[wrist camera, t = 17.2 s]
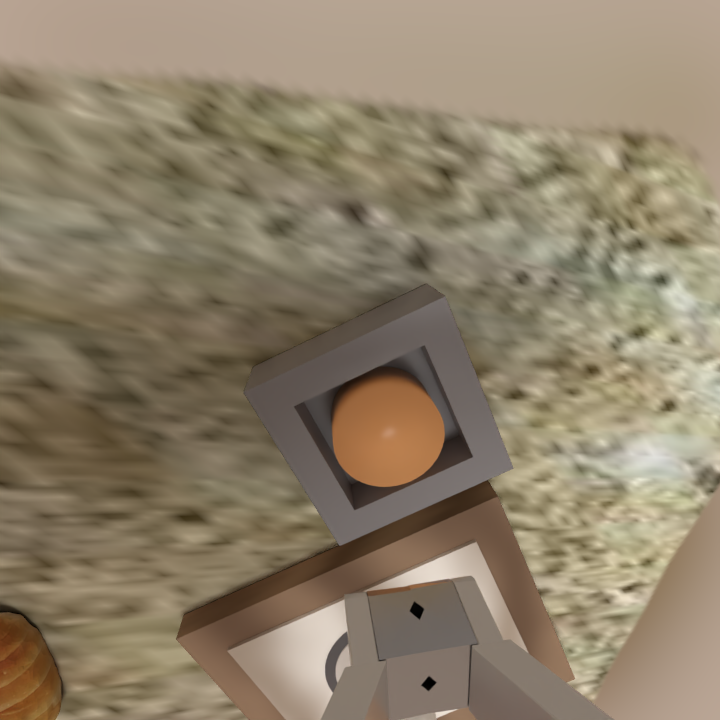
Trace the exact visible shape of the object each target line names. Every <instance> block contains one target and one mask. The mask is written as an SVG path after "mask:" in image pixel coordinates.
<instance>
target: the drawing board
mask: <svg viewBox="0 0 720 720" xmlns="http://www.w3.org/2000/svg"><path fill="white" fill-rule="evenodd" d="M464 576H472V577H473V578H475V580H476V582H477V584H478V587H479V589H480V591H481V593H482V595H483V597H484V599H485V601H486V604H487V606H488V608H489V610H490V612H491V614H492V616H493V618H494V620H495V623H496V625H497V627H498V629H499V631H500V633H501V635H502V637H503V640H509V639H511V640H512V641H513V642H515V643H516V644H517V645H518V646H520V647H521V648H522V649H524V650H525V651H526V652H527V653H529V654H530V655H531V656H533V657H534V658H535V659H536V660H538V661H539V662H540V663H542V664H543V665H544V666H545V667H547V668H548V669H549V670H551V671H552V672H553V673H554V674H556V675H557V676H558V677H560V678H561V679H562V680H564V681H565V682H569V681H571V680H574V679H575V677H574V675H573V673H572V670H571V668H570V666H569V663H568V661H567V658H566V656H565V654H564V651H563V649H562V647H561V644H560V642H559V640H558V637H557V635H556V633H555V630H554V628H553V625H552V623H551V621H550V618H549V616H548V614H547V611H546V609H545V607H544V604H543V602H542V600H541V597H540V595H539V592H538V590H537V588H536V585H535V583H534V581H533V578H532V576H531V574H530V571H529V569H528V567H527V564H526V562H525V559H524V557H523V555H522V552H521V550H520V548H519V545H518V543H517V541H516V538H515V536H514V534H513V531H512V529H511V526H510V524H509V522H508V519H507V517H506V515H505V512H504V510H503V508H502V505H501V503H500V501H499V498H498V496H497V494H496V493H495V491H494V490H493V488H492V486H491V485H490V483H489V482H488V480H486V481H484V482H482V483H480V484H477V485H475V486H473V487H471V488H469V489H466V490H464V491H462V492H460V493H457V494H455V495H453V496H451V497H448V498H446V499H444V500H442V501H439V502H437V503H435V504H433V505H430V506H428V507H426V508H424V509H422V510H419V511H417V512H415V513H413V514H410V515H408V516H406V517H404V518H401V519H399V520H397V521H395V522H392V523H390V524H388V525H386V526H383V527H381V528H379V529H377V530H375V531H372V532H370V533H368V534H366V535H363V536H361V537H359V538H357V539H354V540H352V541H350V542H348V543H345V544H343V545H341V546H337V547H335V548H333V549H330V550H328V551H326V552H324V553H321V554H319V555H317V556H315V557H312V558H310V559H308V560H306V561H303V562H301V563H299V564H297V565H294V566H292V567H290V568H288V569H286V570H283V571H281V572H279V573H277V574H274V575H272V576H270V577H268V578H265V579H263V580H261V581H259V582H256V583H254V584H252V585H250V586H247V587H245V588H243V589H241V590H239V591H236V592H234V593H232V594H230V595H227V596H225V597H223V598H221V599H218V600H216V601H214V602H212V603H209V604H207V605H205V606H203V607H201V608H198V609H196V610H194V611H192V612H189V613H187V614H185V615H184V616H183V619H182V622H181V625H180V629H179V632H178V635H177V638H176V640H177V641H178V642H179V643H180V644H181V645H182V646H183V647H184V648H185V650H186V651H187V652H188V653H189V654H190V655H191V656H192V657H193V658H194V660H195V661H196V662H197V663H198V664H199V665H200V666H201V667H202V668H203V669H204V671H205V672H206V673H207V674H208V675H209V676H210V677H211V678H212V679H213V681H214V682H215V683H216V684H217V685H218V686H219V687H220V688H221V689H222V690H223V692H224V693H225V694H226V695H227V696H228V697H229V698H230V699H231V700H232V702H233V703H234V704H235V705H236V706H237V707H238V708H239V709H240V710H241V711H242V713H243V714H244V715H245V716H246V717H247V718H248V719H249V720H321V718H322V716H323V713H324V711H325V709H326V707H327V705H328V703H329V701H330V698H331V696H332V694H333V692H334V690H335V688H336V686H337V683H338V681H339V679H340V677H341V675H342V673H343V670H344V668H345V667H349V666H350V657H349V647H348V636H347V624H346V613H345V602H344V594H351V593H359V592H367V591H372V590H380V589H389V588H397V587H405V586H408V585H413V584H419V583H425V582H431V581H437V580H443V579H451V578H458V577H464ZM435 714H436V718H437V720H477V719H476V718H475V716H474V715H473V714H472V713H471V712H470V711H469V707H468V708H462V709H455V710H448V711H442V712H435Z"/></svg>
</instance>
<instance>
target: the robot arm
mask: <svg viewBox="0 0 720 720" xmlns="http://www.w3.org/2000/svg"><path fill="white" fill-rule="evenodd" d="M344 602H345V613H346V624H347V636H348V647H349V657H350V666H349V667H345V668H344V670H343V673H342V675H341V677H340V679H339V681H338V683H337V686H336V688H335V690H334V692H333V694H332V696H331V698H330V701H329V703H328V705H327V707H326V709H325V711H324V713H323V716H322V718H321V720H401V719H406V718H410V717H415V716H419V715H424V714H428V713H435V712H442V711H448V710H455V709H462V708H468V707H469V711H470V712H471V713H472V714H473V715H474V716H475V718H476V719H477V720H614V719H613V718H611V717H610V716H609V715H607V714H606V713H605V712H604V711H602V710H601V709H600V708H598V707H597V706H596V705H594V704H593V703H592V702H591V701H589V700H588V699H587V698H585V697H584V696H583V695H582V694H580V693H579V692H578V691H576V690H575V689H574V688H573V687H571V686H570V685H569V684H567V683H566V682H565V681H564V680H562V679H561V678H560V677H558V676H557V675H556V674H554V673H553V672H552V671H551V670H549V669H548V668H547V667H545V666H544V665H543V664H542V663H540V662H539V661H538V660H536V659H535V658H534V657H533V656H531V655H530V654H529V653H527V652H526V651H525V650H524V649H522V648H521V647H520V646H518V645H517V644H516V643H515V642H513V641H512V640H511V639H509V640H503V637H502V635H501V633H500V631H499V629H498V627H497V625H496V623H495V620H494V618H493V616H492V614H491V612H490V610H489V608H488V606H487V604H486V601H485V599H484V597H483V595H482V593H481V591H480V589H479V587H478V584H477V582H476V580H475V578H473V577H472V576H464V577H458V578H451V579H443V580H437V581H431V582H425V583H419V584H413V585H408V586H405V587H397V588H389V589H380V590H372V591H367V592H359V593H351V594H344Z"/></svg>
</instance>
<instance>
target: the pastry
mask: <svg viewBox="0 0 720 720" xmlns="http://www.w3.org/2000/svg"><path fill="white" fill-rule="evenodd" d="M61 685H62V683H61V679H60V677H59V674H58V669H57V668H56V667H55V664H54V660H53V657H52V656H51V654H50V652H49V650H48V648H47V646H46V643H45V641H44V639H43V637H42V636H41V634H40V632H39V631H38V629H37V628H34V627H33V626H31V625H30V624H29V623H28V622H27V621H26V619H25V618H24V617H23V616H22V615H20V614H13V613H10V612H5V613H0V720H56V718H57V716H58V714H59V712H60V707H61V699H62V696H61Z"/></svg>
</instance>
